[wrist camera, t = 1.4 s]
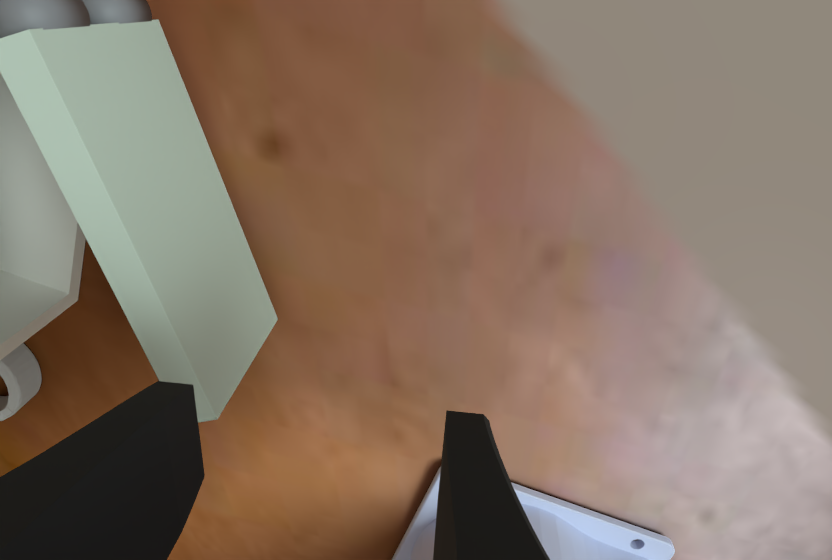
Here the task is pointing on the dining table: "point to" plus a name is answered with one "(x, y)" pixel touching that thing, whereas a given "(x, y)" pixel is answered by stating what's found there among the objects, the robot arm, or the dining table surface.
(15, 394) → the bracket
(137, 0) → the cabinet door
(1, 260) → the cabinet
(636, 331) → the dining table surface
